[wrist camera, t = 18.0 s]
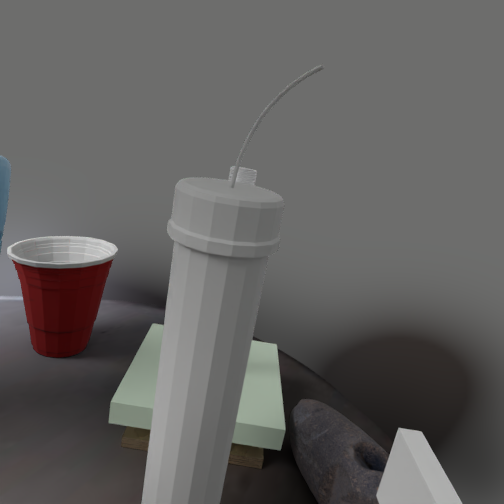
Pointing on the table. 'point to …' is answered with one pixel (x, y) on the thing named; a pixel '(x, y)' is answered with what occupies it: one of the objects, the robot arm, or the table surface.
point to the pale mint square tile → (251, 402)
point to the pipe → (208, 328)
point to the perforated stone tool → (335, 455)
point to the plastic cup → (62, 289)
